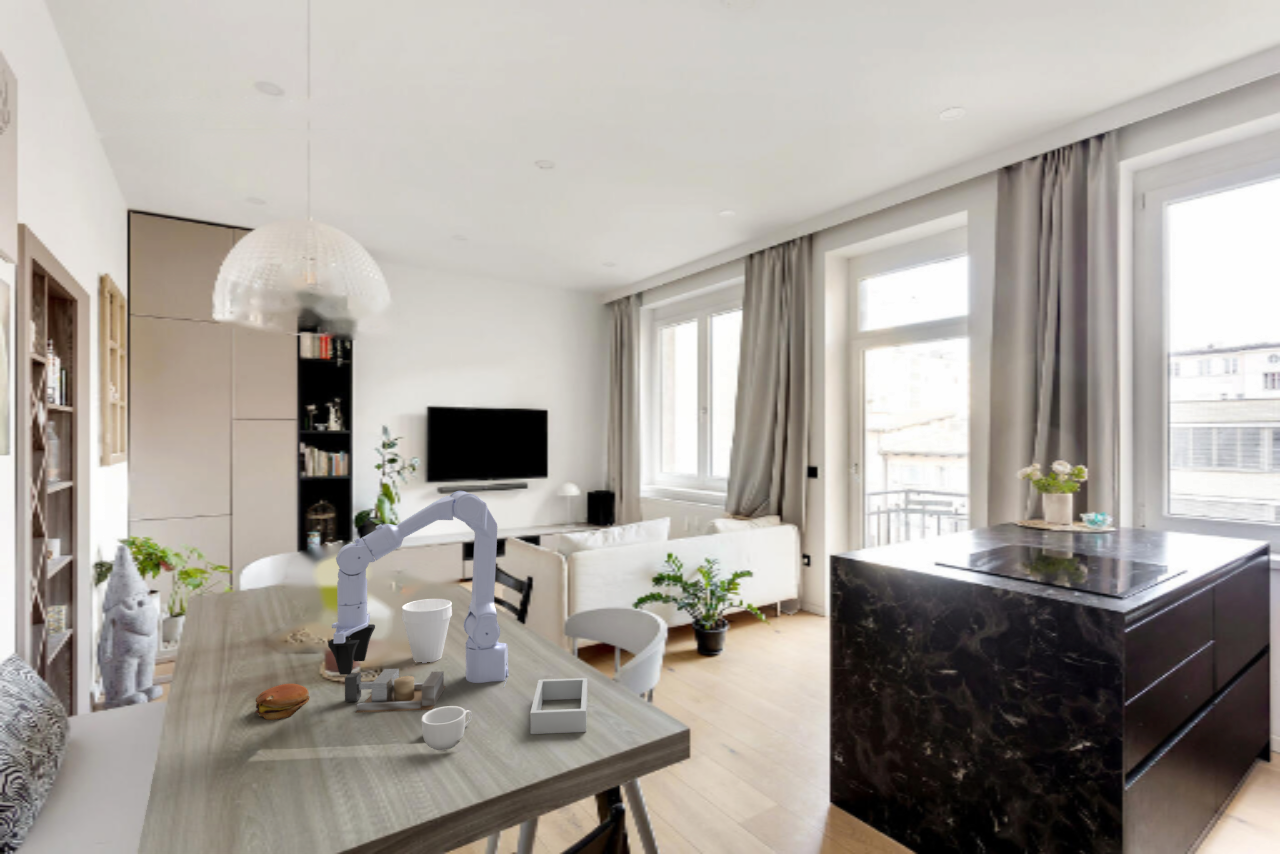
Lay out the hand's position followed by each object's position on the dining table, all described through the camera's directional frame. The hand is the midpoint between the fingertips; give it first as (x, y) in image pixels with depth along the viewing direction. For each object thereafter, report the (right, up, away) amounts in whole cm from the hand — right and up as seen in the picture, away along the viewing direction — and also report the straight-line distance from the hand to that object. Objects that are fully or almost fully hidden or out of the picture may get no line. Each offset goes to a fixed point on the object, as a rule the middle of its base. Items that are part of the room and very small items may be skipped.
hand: (352, 667), depth 134 cm
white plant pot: (+6, -9, +29) cm, 31 cm away
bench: (+10, -8, +1) cm, 13 cm away
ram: (+4, -7, 0) cm, 8 cm away
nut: (+11, -7, +1) cm, 13 cm away
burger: (-14, -9, -1) cm, 17 cm away
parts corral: (+44, -8, -4) cm, 45 cm away
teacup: (+25, -8, -15) cm, 31 cm away
